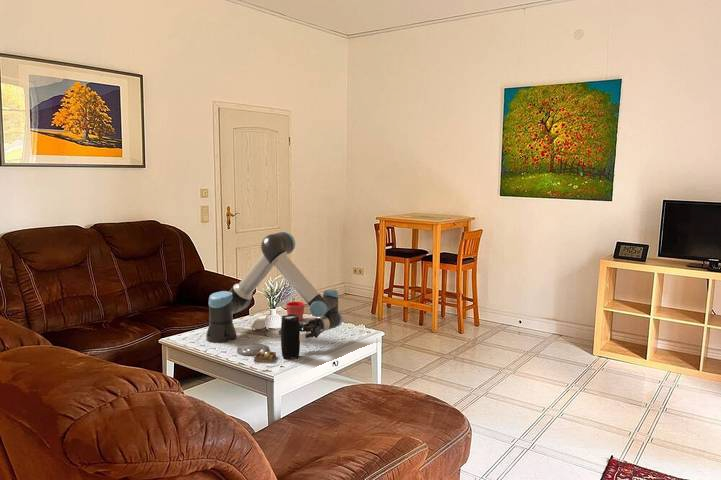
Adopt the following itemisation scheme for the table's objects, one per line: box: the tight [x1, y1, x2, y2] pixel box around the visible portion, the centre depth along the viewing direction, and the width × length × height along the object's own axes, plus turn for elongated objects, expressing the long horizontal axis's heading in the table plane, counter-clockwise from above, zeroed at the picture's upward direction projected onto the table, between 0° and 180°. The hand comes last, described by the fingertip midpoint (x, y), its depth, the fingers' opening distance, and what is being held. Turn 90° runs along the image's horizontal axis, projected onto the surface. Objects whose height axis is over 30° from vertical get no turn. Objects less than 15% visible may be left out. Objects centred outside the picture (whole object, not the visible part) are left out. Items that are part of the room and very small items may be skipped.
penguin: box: [250, 315, 267, 331], centre depth 302 cm, size 9×8×15 cm
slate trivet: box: [236, 343, 270, 357], centre depth 264 cm, size 15×15×1 cm
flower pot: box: [285, 301, 306, 322], centre depth 320 cm, size 11×11×10 cm
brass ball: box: [264, 351, 271, 357], centre depth 250 cm, size 3×3×3 cm
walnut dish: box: [253, 351, 277, 363], centre depth 252 cm, size 8×8×2 cm
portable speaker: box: [280, 314, 301, 361], centre depth 254 cm, size 9×9×20 cm
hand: (288, 335), depth 253 cm, fingers open, 13 cm apart
